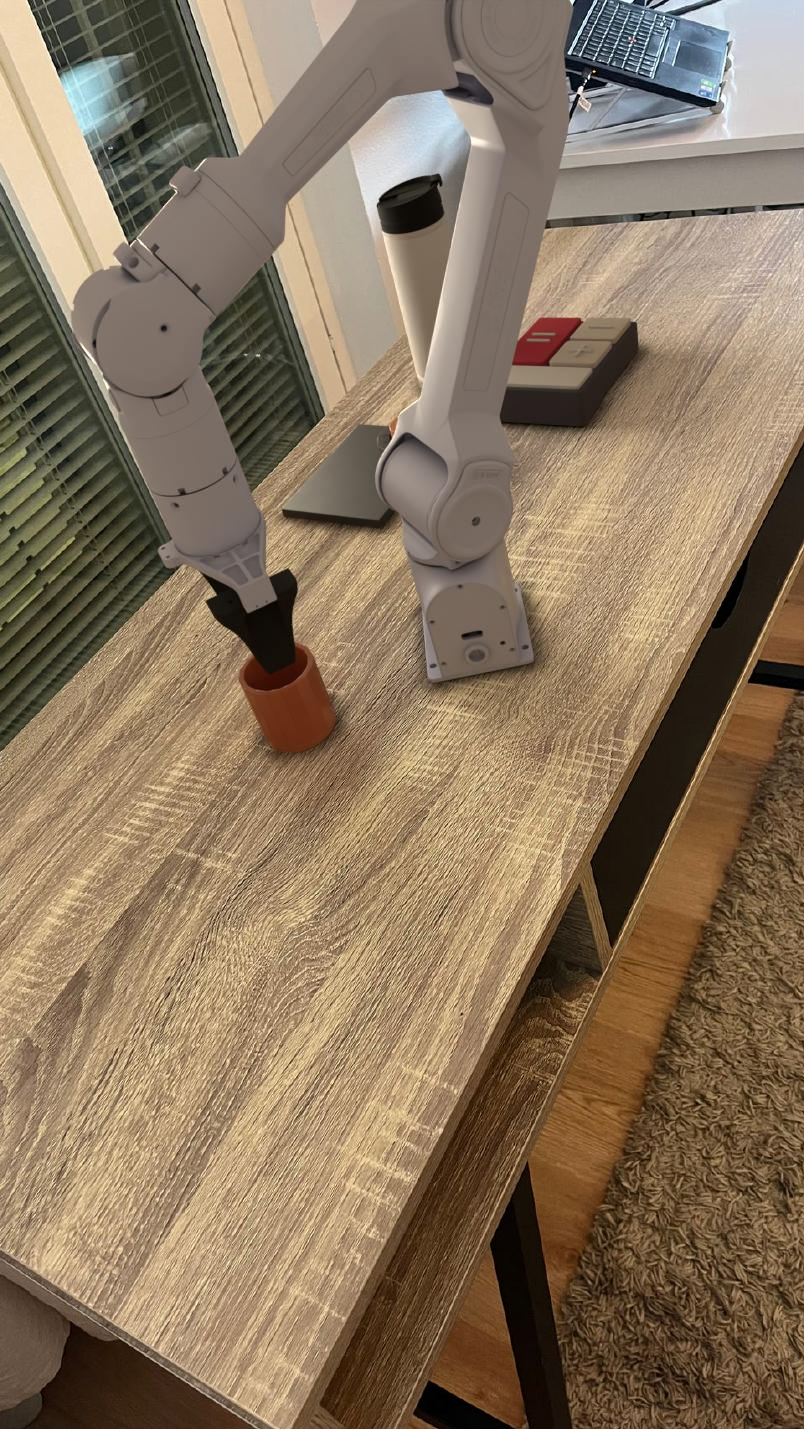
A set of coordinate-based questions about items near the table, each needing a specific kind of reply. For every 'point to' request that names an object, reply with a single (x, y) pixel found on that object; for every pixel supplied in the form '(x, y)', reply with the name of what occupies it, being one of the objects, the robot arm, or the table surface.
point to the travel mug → (416, 257)
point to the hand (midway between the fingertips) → (262, 637)
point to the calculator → (566, 369)
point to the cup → (289, 702)
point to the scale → (346, 483)
